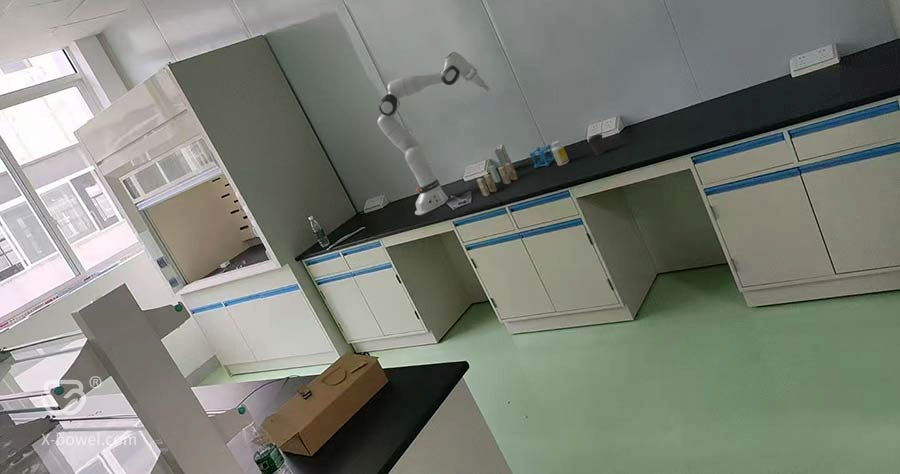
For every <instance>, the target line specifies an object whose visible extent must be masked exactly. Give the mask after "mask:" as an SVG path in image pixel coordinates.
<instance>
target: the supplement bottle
mask: <svg viewBox="0 0 900 474" xmlns="http://www.w3.org/2000/svg"><path fill="white" fill-rule="evenodd" d="M550 145H551V147H552V148H551V152H552V154H553V157H555V162H556V164H557V166H559V167H560V166H563V165H566V164H568V163H569V162H570V160H569V157H568V154H567V152H566V149H565V148H564V144H561V142H560V140H556V141H553V142H551V144H550Z"/></svg>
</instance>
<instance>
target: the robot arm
mask: <svg viewBox="0 0 900 474" xmlns="http://www.w3.org/2000/svg"><path fill="white" fill-rule="evenodd" d="M477 71H478V68H477V67H475V66H474V65H473V64H472V63H470V62H468V60H467V59H466V58H465V57H464V56H462V55H461V54H460V53H459V52H456V51H453V52H451V53H450V54H449V55H447V56H446V57H445V59H444V66H443V69H442V70H441V71H438V72H433V73H430V74H422V75H419V74H418V75H417V74H416V75H407V76H403V77H398V78H396V79H394V80H391V81H389V83H388V84H387V94H385V95H384V96H383V97H382V98H381V100H380V101H379V103H378V110H379V112H380V113H381V114H380V115H379V117H378V119H377V125H378V127H379V128H380V130H381V132H383V134H384V135H385V137H387V139H388V140H389V141H390V142H391V143H392V144H393V145H394V146H395V147H397V148H398V149H399V150H401V152H403V153H404V158H405V159H404V160H405V161H406V164H407V165H408V167H409V168H410V170H411V171H412V173H413V175H414V177H415V178H416V180H417V183H418V185H419V187H417V188H415V191H416V192H418V193H419V195H418V198H417V199H416V201H415V208H416V210H415V211H414V215H417V216H422V215H425V214H427V213H428V212H431V211H433V210H435V209H436V208H439V207H441V206H442V205H444V204H446V202H447V201H448V200H449V197H448V196H447V195H446V194H445V192H444V190H443V189H442V186H441V184H440V181H439V180H438V178H437V177H436V174H435V173H434V171H433V168H432V167H431V165H430V164H429V162H428V160H427V158H426V156H425V154H426V150H425V147H424V146H423V145H422V144H421V143H420V142H419V141H418V140H417V139H416V138H414V136H412V135H411V134H410V133H409V131H408V130H407V129H406V128H405V127H404V126H403V125H402V124H401V123H400V122H399V121H398V119H397V118H396V116H395V115H396V114H397V112H398V110H399V108H400V104H401V103H400V100H401V99H402V98H405V97H410V96H413V95H416V94H418V93H420V92H421V91H422V90H424V89H426V88H427V87H430V86H433V85H436V84H441V83H443V84H444V85H447V86H452V85H454V84H455V83H457V82H458V81H459V79H460V77H462V79H464V80H465V81H467V82H469V81H470V82H472V83H474V84H475V85H476V86H478V87H479V88H481V87H482V88H483V89H484V90H485V91H489V90H490V87H489V86H487V84H486V82H485V81H484V79H482V77H480V75H479V73H478V72H477Z"/></svg>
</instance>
